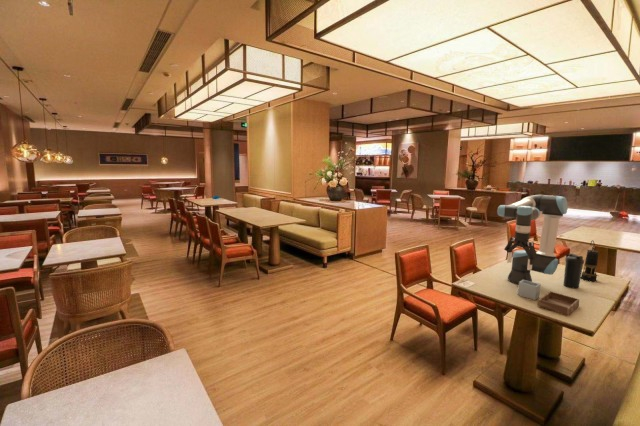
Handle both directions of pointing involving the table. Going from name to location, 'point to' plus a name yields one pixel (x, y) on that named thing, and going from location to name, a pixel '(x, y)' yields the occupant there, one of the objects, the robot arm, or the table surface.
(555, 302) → the walnut crate
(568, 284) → the water bottle
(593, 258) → the lantern
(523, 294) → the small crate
